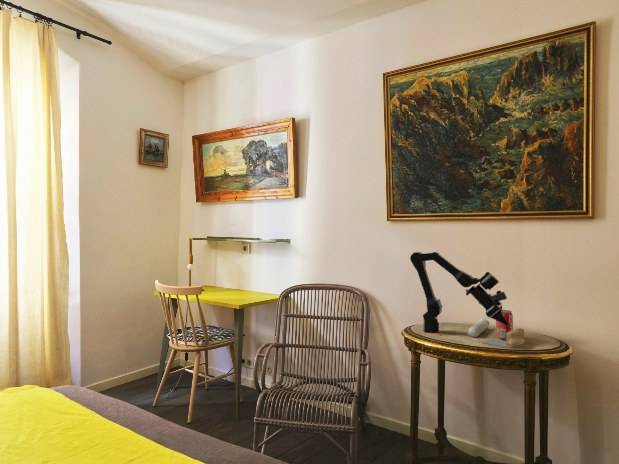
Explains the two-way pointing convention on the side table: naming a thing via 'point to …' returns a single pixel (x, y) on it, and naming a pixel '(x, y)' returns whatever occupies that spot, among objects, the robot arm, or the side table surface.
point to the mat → (495, 342)
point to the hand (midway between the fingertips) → (507, 323)
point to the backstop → (514, 338)
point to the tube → (478, 328)
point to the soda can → (502, 328)
